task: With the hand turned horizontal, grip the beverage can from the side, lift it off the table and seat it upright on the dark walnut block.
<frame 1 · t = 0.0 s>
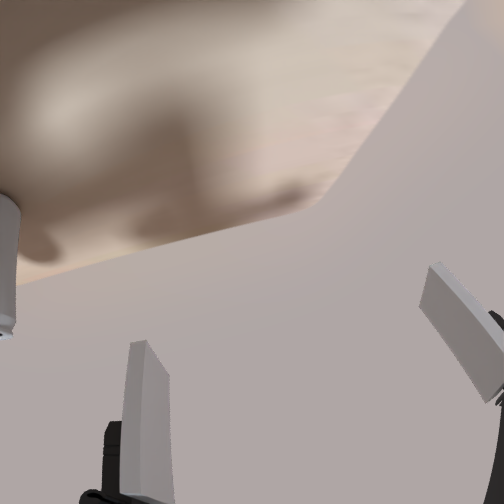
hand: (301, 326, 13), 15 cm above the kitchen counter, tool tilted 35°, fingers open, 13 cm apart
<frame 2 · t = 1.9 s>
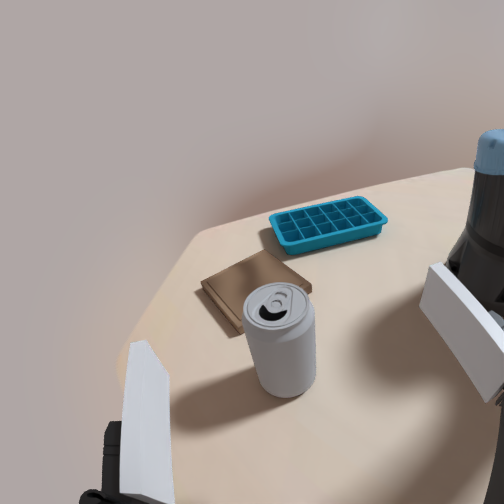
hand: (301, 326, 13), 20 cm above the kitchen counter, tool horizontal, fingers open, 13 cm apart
ice cube tray: (328, 232, 55), on the kitchen counter
walnut block: (254, 290, 45), on the kitchen counter
beverage can: (288, 377, 32), on the kitchen counter
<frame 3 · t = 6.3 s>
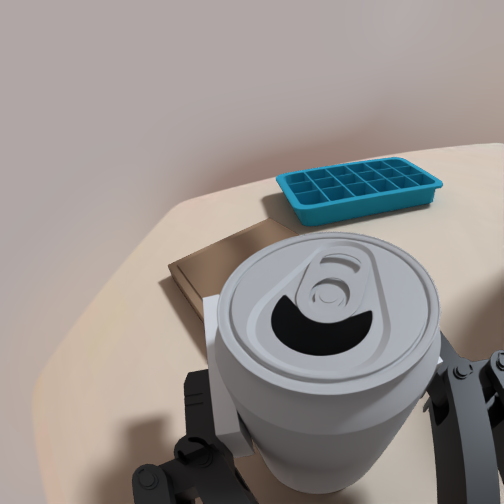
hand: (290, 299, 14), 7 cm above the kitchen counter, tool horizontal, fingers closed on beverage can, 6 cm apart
ice cube tray: (360, 200, 37), on the kitchen counter
walnut block: (254, 279, 27), on the kitchen counter
beverage can: (321, 445, 14), on the kitchen counter, touching gripper
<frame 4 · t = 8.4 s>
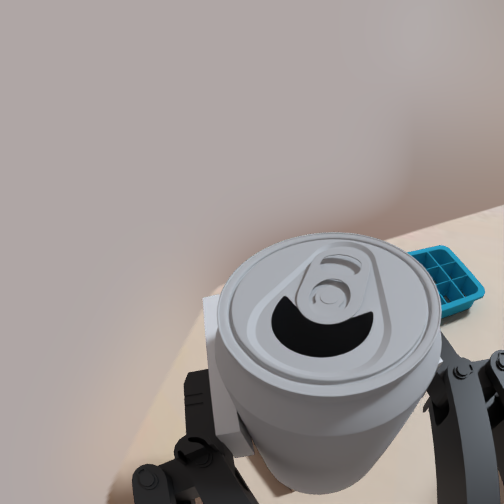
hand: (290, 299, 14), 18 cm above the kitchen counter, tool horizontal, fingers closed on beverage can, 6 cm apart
ice cube tray: (404, 300, 35), on the kitchen counter
beverage can: (321, 446, 14), point 10 cm above the kitchen counter, touching gripper
when the fingers open (10 cm above the kitchen counter, at t = 10.7 s): beverage can drops 1 cm, resting on walnut block.
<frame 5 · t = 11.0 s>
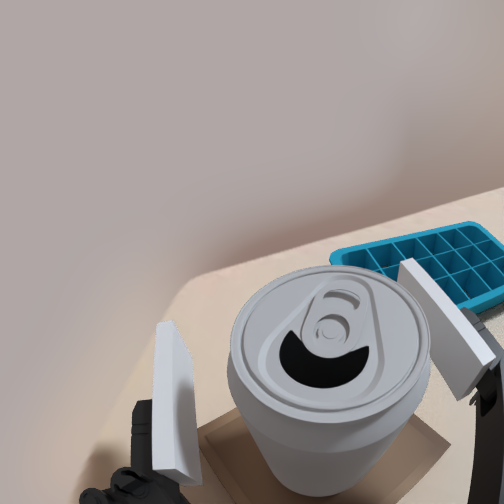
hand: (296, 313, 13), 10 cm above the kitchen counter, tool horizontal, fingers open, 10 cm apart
ice cube tray: (434, 290, 26), on the kitchen counter
walnut block: (320, 457, 15), on the kitchen counter
beverage can: (322, 451, 15), point 1 cm above the kitchen counter, touching walnut block
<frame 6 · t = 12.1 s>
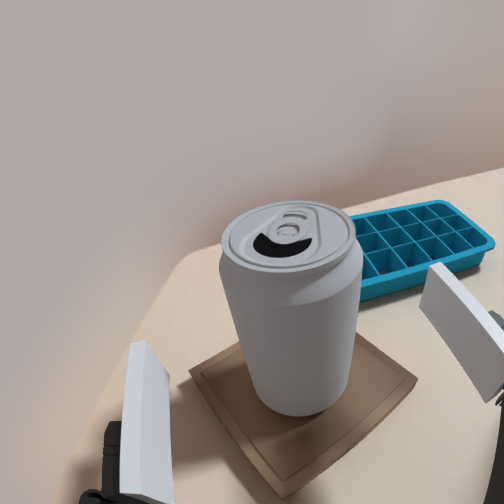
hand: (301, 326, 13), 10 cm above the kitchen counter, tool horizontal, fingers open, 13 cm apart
ice cube tray: (404, 258, 31), on the kitchen counter
walnut block: (300, 391, 20), on the kitchen counter
beverage can: (301, 381, 19), point 1 cm above the kitchen counter, touching walnut block
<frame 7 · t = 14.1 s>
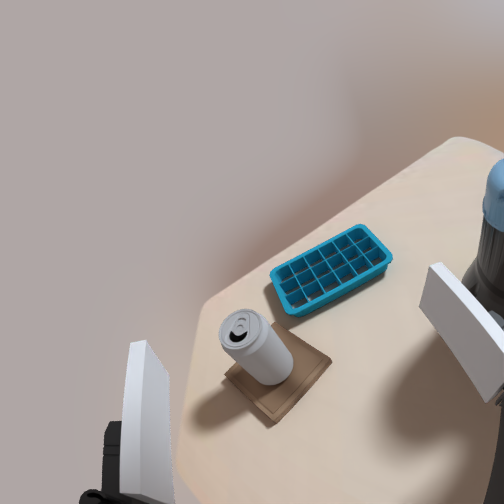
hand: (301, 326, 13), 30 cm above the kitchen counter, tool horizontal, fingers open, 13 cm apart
ice cube tray: (333, 276, 52), on the kitchen counter
walnut block: (277, 371, 43), on the kitchen counter
beverage can: (275, 367, 42), point 1 cm above the kitchen counter, touching walnut block
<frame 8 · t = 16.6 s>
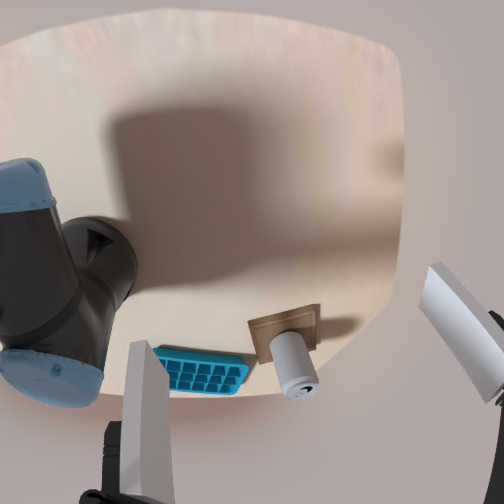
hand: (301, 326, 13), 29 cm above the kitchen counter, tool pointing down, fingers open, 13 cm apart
ice cube tray: (193, 365, 58), on the kitchen counter
walnut block: (283, 334, 56), on the kitchen counter
beverage can: (285, 339, 55), point 1 cm above the kitchen counter, touching walnut block
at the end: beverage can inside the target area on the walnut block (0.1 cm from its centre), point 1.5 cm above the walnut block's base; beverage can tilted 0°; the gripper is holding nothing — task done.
